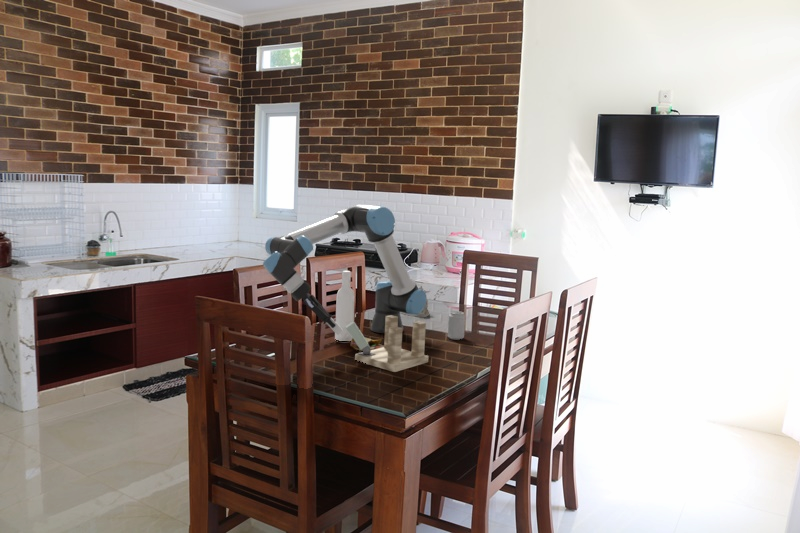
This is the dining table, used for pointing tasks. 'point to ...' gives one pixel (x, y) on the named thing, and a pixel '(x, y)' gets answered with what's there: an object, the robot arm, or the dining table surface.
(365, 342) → the hinged leg
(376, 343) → the toy sandwich meal
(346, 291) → the bottle
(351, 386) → the dining table surface
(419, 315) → the ceramic cottage
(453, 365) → the dining table surface
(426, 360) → the stool
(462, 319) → the can
